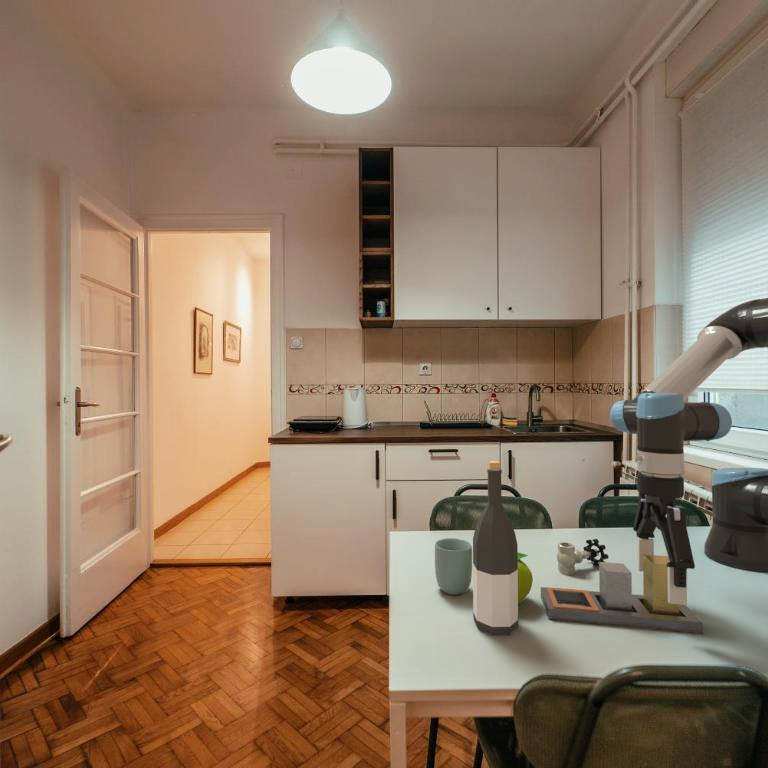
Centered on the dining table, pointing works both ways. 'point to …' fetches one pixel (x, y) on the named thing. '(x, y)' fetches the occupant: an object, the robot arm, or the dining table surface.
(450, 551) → the cup
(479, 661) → the dining table surface
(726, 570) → the dining table surface
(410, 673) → the dining table surface
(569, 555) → the valve
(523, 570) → the fruit
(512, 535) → the wine bottle
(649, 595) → the brass block
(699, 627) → the grey compartment tray
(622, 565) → the grey rectangular block
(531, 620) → the dining table surface
